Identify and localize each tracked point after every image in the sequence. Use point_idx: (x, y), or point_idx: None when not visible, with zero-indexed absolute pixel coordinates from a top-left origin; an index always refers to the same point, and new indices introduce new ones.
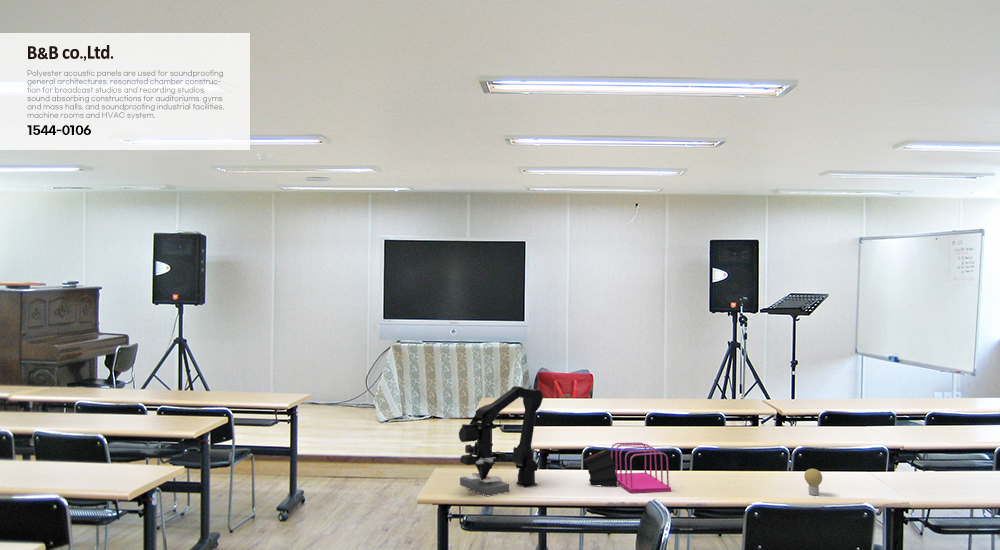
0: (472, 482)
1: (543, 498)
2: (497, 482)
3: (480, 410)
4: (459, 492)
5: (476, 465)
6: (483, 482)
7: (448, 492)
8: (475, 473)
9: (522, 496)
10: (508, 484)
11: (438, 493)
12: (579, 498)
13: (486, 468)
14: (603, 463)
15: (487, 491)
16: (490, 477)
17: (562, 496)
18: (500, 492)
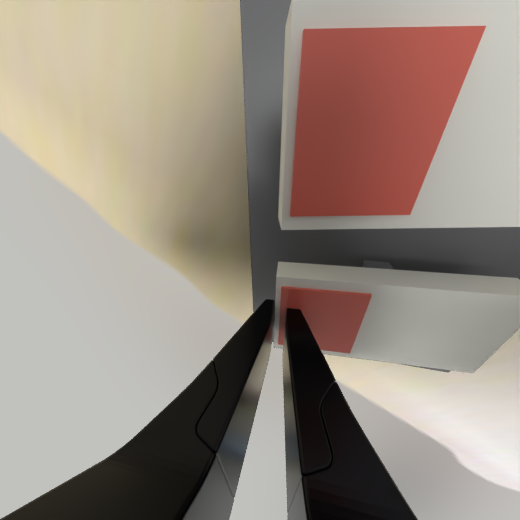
0: (250, 161)
1: (425, 433)
2: None
3: None
4: (158, 155)
5: (105, 480)
6: (340, 230)
7: (84, 103)
8: (329, 89)
9: (392, 389)
10: (439, 370)
11: (15, 84)
12: (512, 486)
13: (288, 484)
14: None
15: None
16: (393, 316)
17: (506, 460)
18: None
